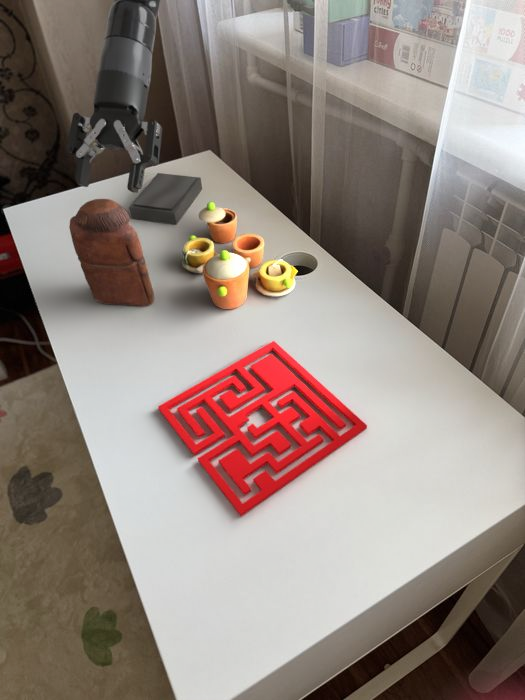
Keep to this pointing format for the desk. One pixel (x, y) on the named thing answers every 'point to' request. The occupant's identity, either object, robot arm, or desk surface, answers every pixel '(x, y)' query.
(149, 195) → the block
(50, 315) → the desk surface
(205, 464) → the maze puzzle
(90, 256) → the wooden figurine
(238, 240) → the toy tea set
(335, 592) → the desk surface
